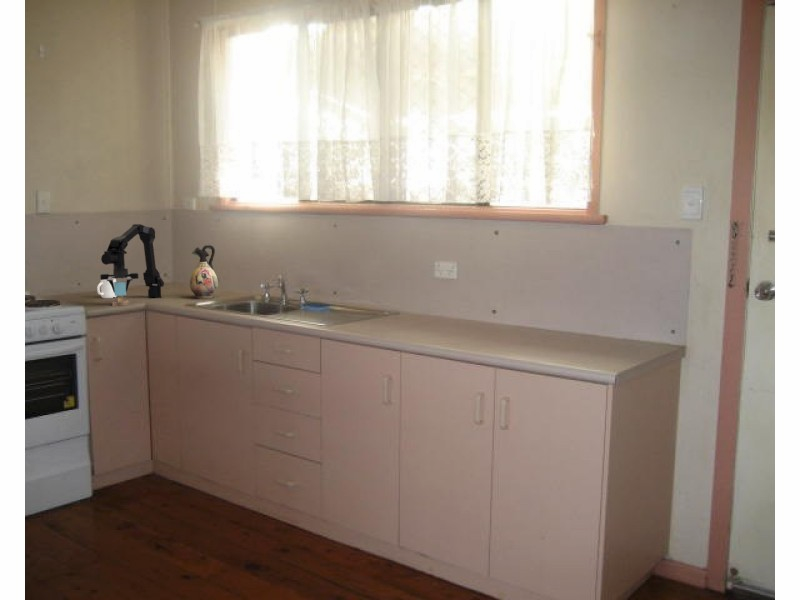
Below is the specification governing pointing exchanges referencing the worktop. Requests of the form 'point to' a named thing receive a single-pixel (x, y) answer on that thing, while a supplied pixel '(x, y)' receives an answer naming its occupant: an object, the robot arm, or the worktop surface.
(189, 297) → the worktop surface
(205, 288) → the ceramic jug
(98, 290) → the mug
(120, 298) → the stand
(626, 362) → the worktop surface
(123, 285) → the light blue block
